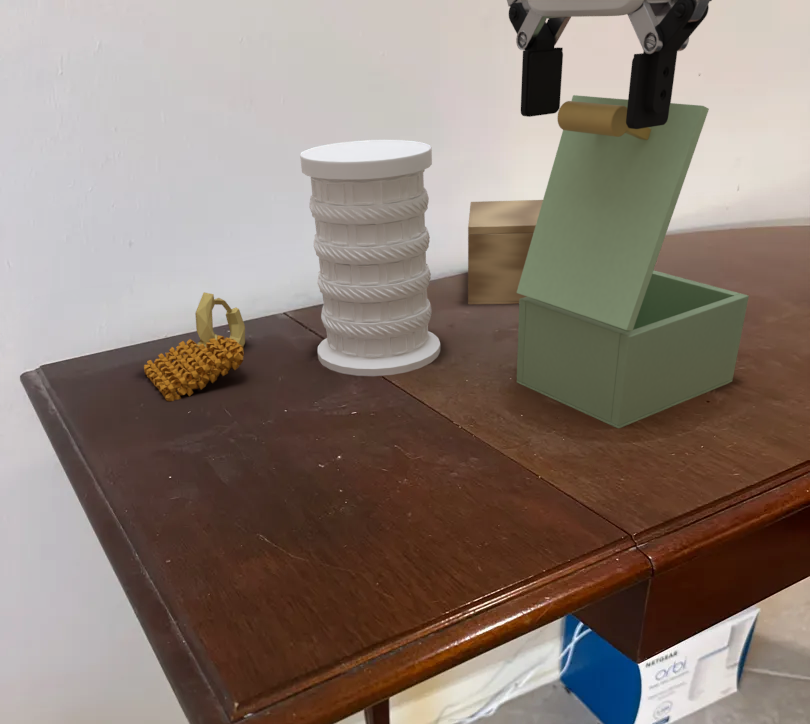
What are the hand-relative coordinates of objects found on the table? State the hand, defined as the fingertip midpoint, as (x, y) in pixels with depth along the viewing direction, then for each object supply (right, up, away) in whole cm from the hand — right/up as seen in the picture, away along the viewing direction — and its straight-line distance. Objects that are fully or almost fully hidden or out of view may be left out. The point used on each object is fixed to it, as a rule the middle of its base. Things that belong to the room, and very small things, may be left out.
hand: (590, 120), depth 54 cm
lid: (+2, -4, +4) cm, 7 cm away
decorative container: (-15, -11, +23) cm, 29 cm away
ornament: (-31, -13, +21) cm, 39 cm away
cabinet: (+2, 0, +37) cm, 37 cm away
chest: (+6, -15, +15) cm, 22 cm away
